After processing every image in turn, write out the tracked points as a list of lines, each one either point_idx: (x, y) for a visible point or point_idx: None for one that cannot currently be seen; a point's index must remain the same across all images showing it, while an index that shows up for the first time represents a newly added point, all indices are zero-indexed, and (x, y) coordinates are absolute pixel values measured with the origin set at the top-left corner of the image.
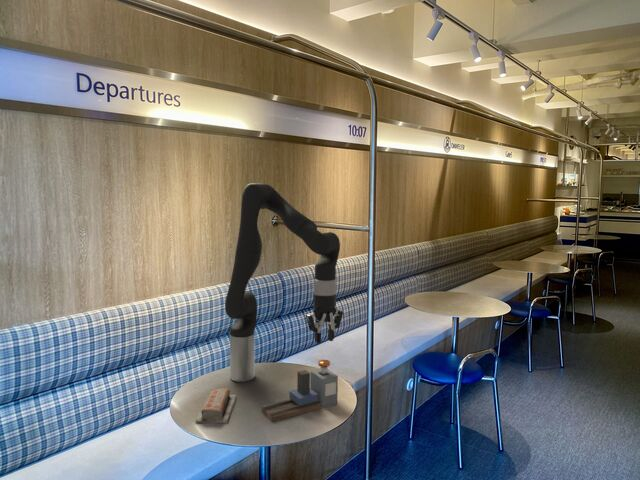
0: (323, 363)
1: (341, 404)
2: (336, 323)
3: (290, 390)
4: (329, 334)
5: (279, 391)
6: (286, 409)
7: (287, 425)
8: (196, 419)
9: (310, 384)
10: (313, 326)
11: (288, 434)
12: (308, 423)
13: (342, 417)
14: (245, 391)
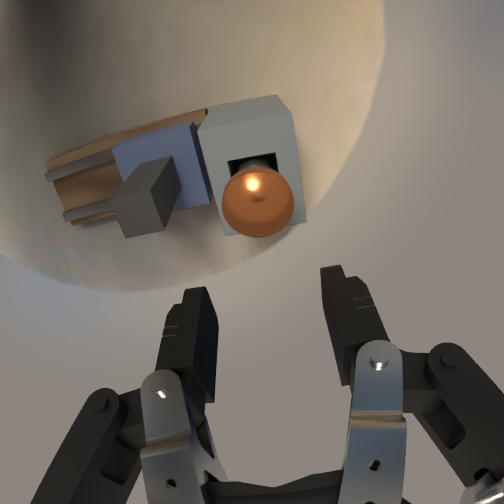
0: (244, 227)
1: (301, 179)
2: (467, 373)
3: (115, 148)
4: (333, 327)
5: (118, 25)
6: (106, 209)
7: (113, 244)
8: None
9: (205, 117)
10: (123, 473)
11: (114, 278)
12: (166, 250)
13: (267, 248)
14: (23, 22)
